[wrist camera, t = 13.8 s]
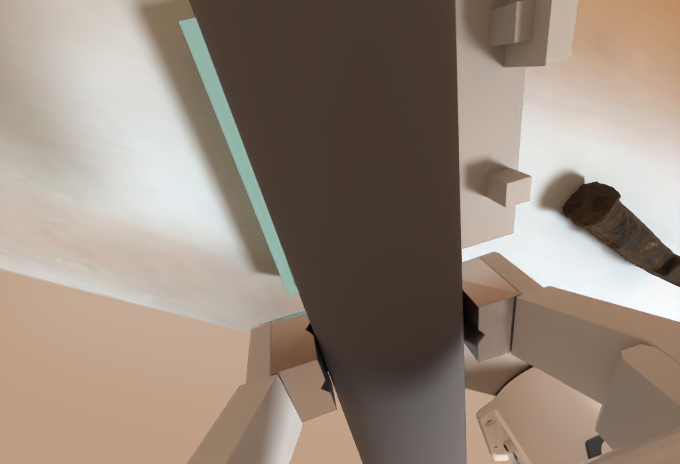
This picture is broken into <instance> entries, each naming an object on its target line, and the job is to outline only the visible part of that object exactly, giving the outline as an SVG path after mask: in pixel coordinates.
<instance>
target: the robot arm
mask: <svg viewBox="0 0 680 464" xmlns="http://www.w3.org/2000/svg"><path fill="white" fill-rule="evenodd" d="M462 293H463V335H464V343H465V344H466V346H467V347H468V349H469V350H470V351H471V353H472V354H473V355H474V357H475V358H476V360H477V361H478V362H480V361H484V360H487V359H490V358H494V357H497V356H500V355H503V354H507V353H510V352H512V353H511V354H512V355H514V356H516V357H518V358H519V359H521V360H523V361H525V362H527V363H528V364H530V365H532V366H534V367H533V368H531V369H529V370H527V371H525V372H523V373H522V374H520V375H519V376H517V377H516V378H514V379H513V380H512V381H511V382H509V383H508V384H507V385H506V386H505V387H504V388H503V389H502V390H501V391H500V392H499V394H498V395H497V396H496V397H495V398H494V399H493V400H492V401H491V402H490V403H488V404H487V405H485V406H484V407H483V408H482V409H480V410H479V411H478V413H477V419H478V422H479V425H480V427H481V430H482V433H483V435H484V438H485V441H486V444H487V446H488V449H489V452H490V454H491V456H492V457H493V459H494V460H495V461H506V460H511V461H512V463H513V464H680V322H677V321H674V320H670V319H666V318H663V317H659V316H656V315H652V314H648V313H645V312H641V311H638V310H634V309H630V308H627V307H623V306H620V305H616V304H612V303H609V302H605V301H602V300H598V299H594V298H591V297H587V296H584V295H580V294H576V293H573V292H569V291H566V290H562V289H558V288H555V287H551V286H548V287H545V288H543V287H542V286H541V285H539V284H538V283H537V282H536V281H534V280H533V279H532V278H530V277H529V276H528V275H526V274H525V273H524V272H523V271H521V270H520V269H519V268H517V267H516V266H515V265H514V264H512V263H511V262H510V261H508V260H507V259H506V258H504V257H503V256H502V255H501V254H499V253H496V252H492V253H489V254H486V255H483V256H480V257H477V258H475V259H471V260H468V261H465V262H462ZM334 410H337V408H336V403H335V398H334V392H333V387H332V383H331V380H330V377H329V374H328V369H327V366H326V364H325V361H324V358H323V356H322V353H321V350H320V348H319V345H318V342H317V340H316V337H315V334H314V332H313V329H312V326H311V324H310V321H309V318H308V316H307V313H306V311H304V312H300V313H297V314H293V315H290V316H286V317H283V318H279V319H276V320H273V321H270V322H267V323H263V324H260V325H256V326H253V328H252V330H251V333H250V345H249V356H248V366H247V378H246V384H244V385H241V386H239V388H238V389H237V391H236V392H235V394H234V395H233V397H232V398H231V399H230V401H229V402H228V404H227V405H226V407H225V408H224V410H223V411H222V413H221V414H220V416H219V417H218V419H217V420H216V421H215V423H214V425H213V426H212V428H211V429H210V430H209V432H208V433H207V435H206V436H205V438H204V439H203V441H202V442H201V444H200V446H199V447H198V448H197V450H196V451H195V453H194V454H193V455H192V457H191V458H190V460H189V462H188V463H187V464H289V462H290V459H291V456H292V454H293V451H294V448H295V445H296V442H297V440H298V437H299V434H300V431H301V429H302V426H303V424H302V422H304V421H307V420H310V419H312V418H315V417H318V416H320V415H323V414H326V413H328V412H331V411H334Z"/></svg>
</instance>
